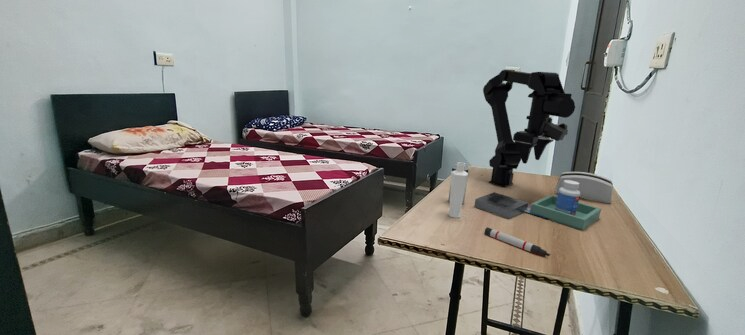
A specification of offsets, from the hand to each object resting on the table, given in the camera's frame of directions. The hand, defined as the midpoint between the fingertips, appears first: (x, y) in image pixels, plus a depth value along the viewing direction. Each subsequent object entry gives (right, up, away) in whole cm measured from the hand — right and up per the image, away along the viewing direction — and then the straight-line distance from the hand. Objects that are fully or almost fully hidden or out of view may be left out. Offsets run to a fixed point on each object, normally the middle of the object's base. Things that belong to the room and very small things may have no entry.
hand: (531, 161), depth 112 cm
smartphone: (-5, -15, -8) cm, 18 cm away
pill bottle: (+4, -16, -12) cm, 20 cm away
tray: (+4, -16, -12) cm, 20 cm away
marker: (-18, -21, -31) cm, 42 cm away
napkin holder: (+20, -12, +6) cm, 24 cm away
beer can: (-26, -13, -6) cm, 30 cm away
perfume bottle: (-29, -15, -16) cm, 36 cm away
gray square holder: (-13, -14, -9) cm, 22 cm away
